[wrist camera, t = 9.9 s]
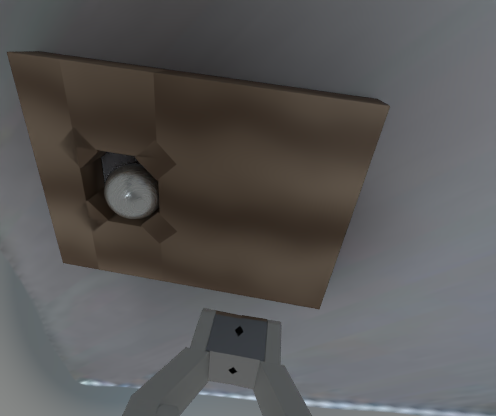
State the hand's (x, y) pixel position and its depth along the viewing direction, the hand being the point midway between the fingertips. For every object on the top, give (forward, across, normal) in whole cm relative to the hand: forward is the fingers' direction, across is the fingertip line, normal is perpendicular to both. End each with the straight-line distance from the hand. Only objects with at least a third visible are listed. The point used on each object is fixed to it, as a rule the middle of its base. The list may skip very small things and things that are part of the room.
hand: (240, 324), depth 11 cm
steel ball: (+10, +9, +1) cm, 14 cm away
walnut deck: (+12, +5, +1) cm, 13 cm away
